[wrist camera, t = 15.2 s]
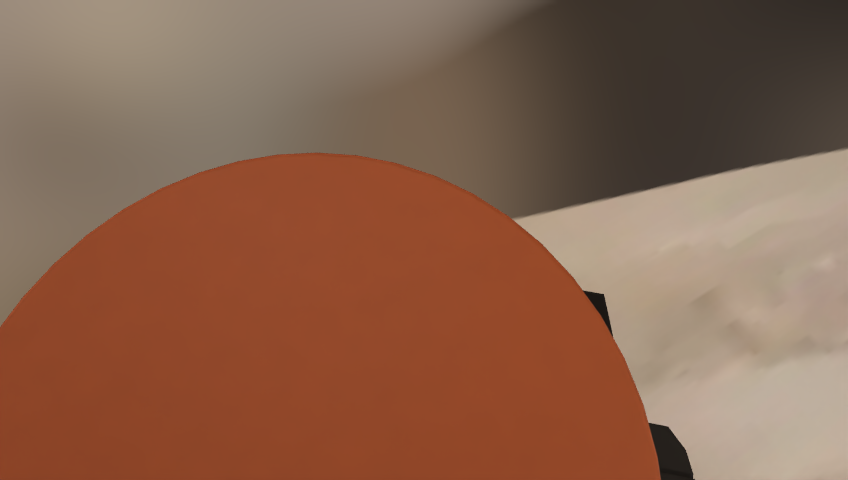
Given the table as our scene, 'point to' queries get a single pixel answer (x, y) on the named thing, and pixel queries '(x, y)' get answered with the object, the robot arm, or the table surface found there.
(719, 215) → the table surface
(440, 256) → the cap
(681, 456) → the robot arm
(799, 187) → the table surface
